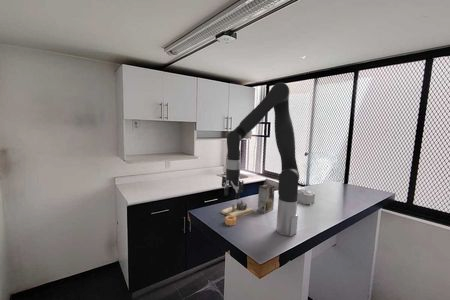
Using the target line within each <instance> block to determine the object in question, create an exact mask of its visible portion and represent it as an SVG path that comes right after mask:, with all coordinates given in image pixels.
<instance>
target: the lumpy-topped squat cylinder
mask: <svg viewBox="0 0 450 300" xmlns="http://www.w3.org/2000/svg"><path fill="white" fill-rule="evenodd" d="M315 197H316V193H315V192H314V191H311V190H310V189H307V188H306V189H305V188H300V189H298V198H297V201H298V202H297V203H299V202H300V203H299V204H302V203H303V205H306V204H311V205H313V204H312V203H314V204H315V199H316V198H315Z"/></svg>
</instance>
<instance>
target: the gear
mask: <svg viewBox="0 0 450 300" xmlns="http://www.w3.org/2000/svg"><path fill="white" fill-rule="evenodd" d="M237 219H238V218H236V217H235V216H227V215H225V218H224V220H225V221H224V224H226V225H227V226H235V225H236V224H237Z"/></svg>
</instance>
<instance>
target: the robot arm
mask: <svg viewBox="0 0 450 300" xmlns="http://www.w3.org/2000/svg"><path fill="white" fill-rule="evenodd" d="M290 91H291V90H290V87H289V85H288V84H286V83H285V82H278V83H275V84H274V85H272V87H271V89H270V90H269V91H268V92H267V94H266V95H265V96H264V98H263V99H262V100H261V101H260V102H259V103H258V104H257V105H256V107H254V108H253V110H251V111H250V112H249V113H248V114H247V115H246V116H245V117H244V118H243V119H242V120H240V122H239V124H238V126H236V128H234V129H233V130H230V131H229V132H228V133H227V135H226V151H227V153H226V162H225V163H226V164H225V175H223V176H222V177H221V178H222V179H221V187H223V189H224V190H223V191H224V192H223V194H224V196H229V188H230V187H232V188H233V189H234V190H235V200H240V198H241V193H243V192H244V187H245V186H244V182H245V181H244V180H239V178H240V175H241V149H240V145H241V141H242V140H244V138H245V137H246V136H247V135H248V134H249V133H250V132H252V130H254V129H255V127H256V126H257V125H259V123H260V122H261V121H262V120H263V119H264V118H265V116H266V115H268V113H269V112H270V111H272V109H273V110H274V135H275V142H276V143H275V144H276V147H277V150H278V154H279V156H280V160H281V161H280V162H281V172H280V173H279V177H278V185H277V186H278V188H277V189H278V190H277V195H278V199H277V211H276V212H277V216H276V230H275V231H276V232H277V233H278V234H280V235H282V236H287V237H292V236H294V235H295V234H297V233H298V232H297V230H298V218H299V216H298V214H297V210H298V202H297V198H298V190H299V180H300V172H299V167H298V164H297V159H296V138H295V130H294V125H293V120H292V117H291V114H290V99H289V98H290V93H291V92H290Z"/></svg>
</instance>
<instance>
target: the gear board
mask: <svg viewBox="0 0 450 300" xmlns="http://www.w3.org/2000/svg"><path fill="white" fill-rule="evenodd" d="M247 205H248V204H247V203H246V202H244V200H243V199H242V200H240V202H237V203H236V205H235V203H232V206H230V207H227V208H224V209H220V213H221V214H223V215H225V216H235V217H236V218H237V219H239V218H242V217H245V216H247V215H249V214H252V213H254V211H255V210H254V209H253V208H250V207H248V206H247Z"/></svg>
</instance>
